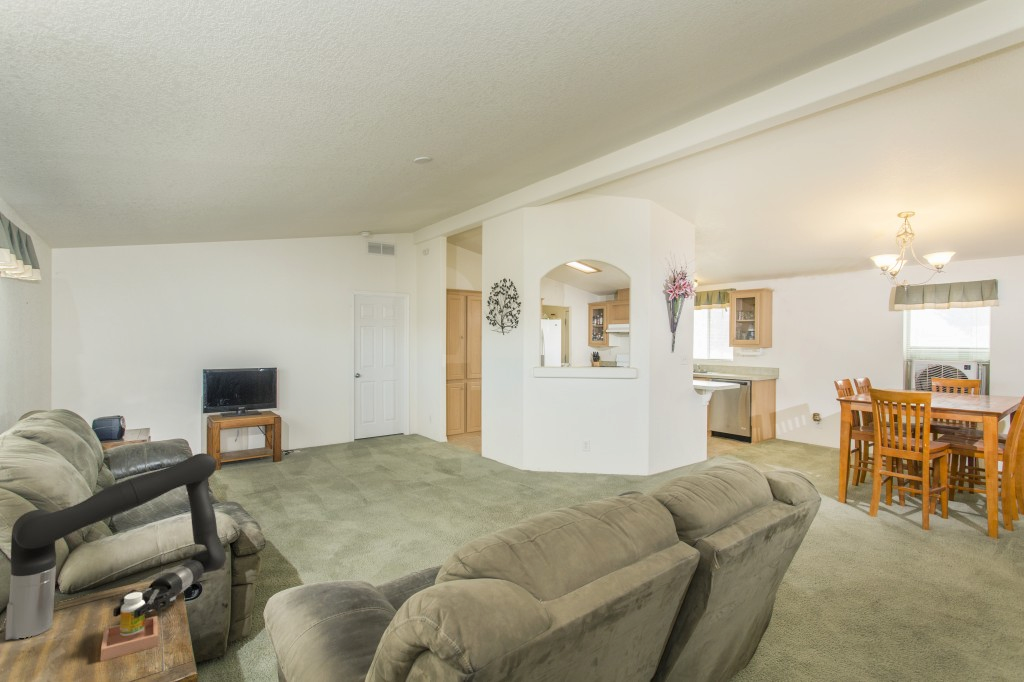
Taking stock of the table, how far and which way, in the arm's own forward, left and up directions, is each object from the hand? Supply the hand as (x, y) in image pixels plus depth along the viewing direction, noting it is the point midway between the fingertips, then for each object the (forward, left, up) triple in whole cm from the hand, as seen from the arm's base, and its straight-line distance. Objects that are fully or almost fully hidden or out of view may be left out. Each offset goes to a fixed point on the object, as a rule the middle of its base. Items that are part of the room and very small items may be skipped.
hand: (125, 613), depth 134 cm
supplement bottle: (+2, +2, -6) cm, 7 cm away
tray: (+1, +2, -9) cm, 9 cm away
